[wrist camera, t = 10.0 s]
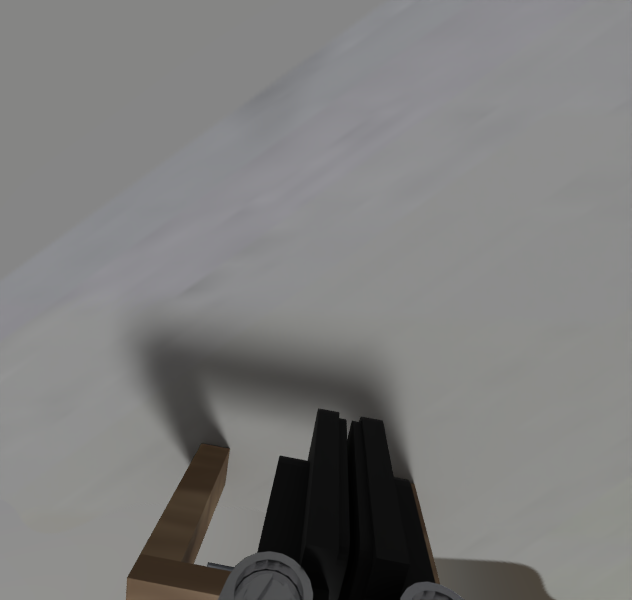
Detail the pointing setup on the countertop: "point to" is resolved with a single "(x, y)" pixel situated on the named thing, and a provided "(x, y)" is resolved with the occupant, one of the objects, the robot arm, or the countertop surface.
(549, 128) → the countertop surface
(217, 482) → the bridge
